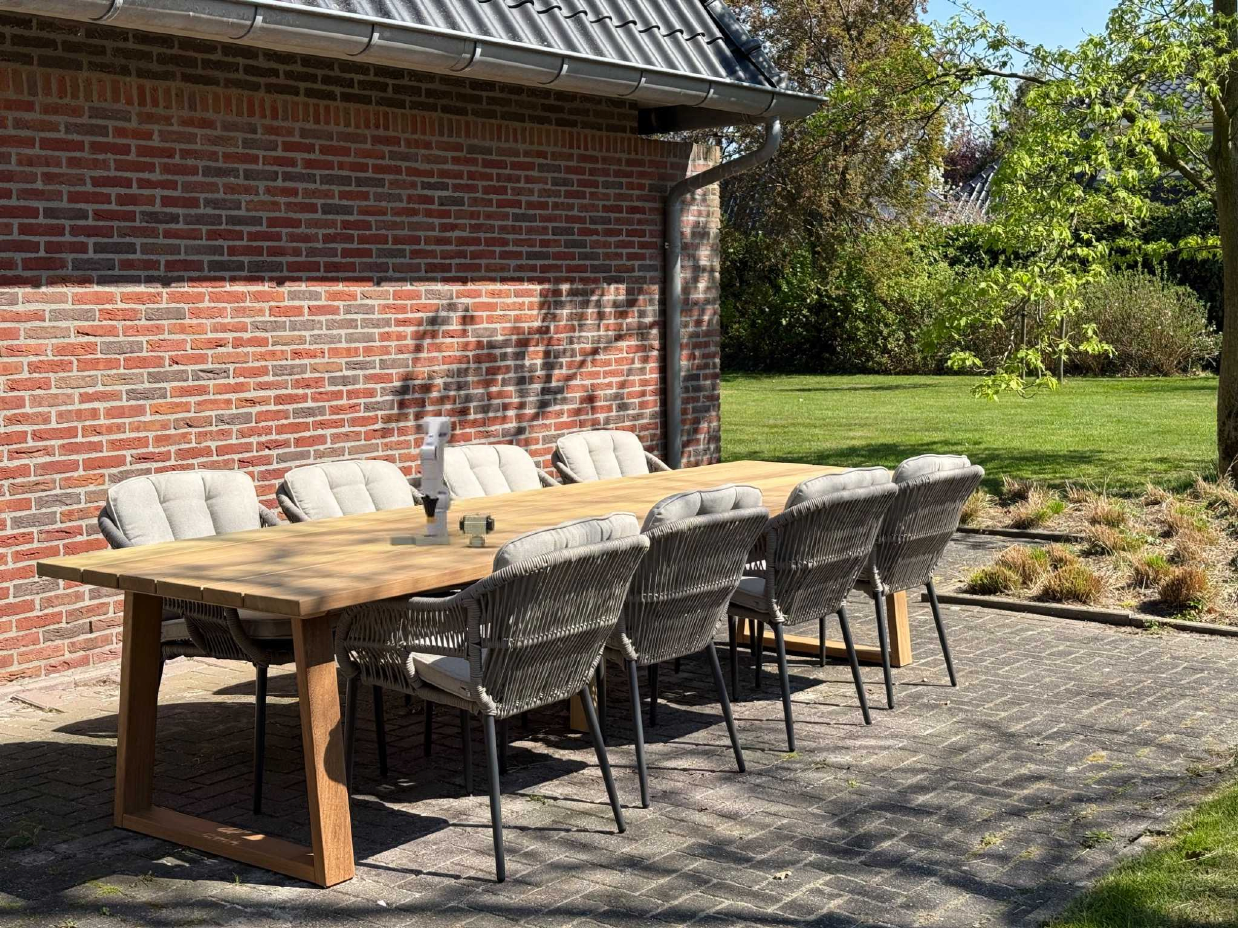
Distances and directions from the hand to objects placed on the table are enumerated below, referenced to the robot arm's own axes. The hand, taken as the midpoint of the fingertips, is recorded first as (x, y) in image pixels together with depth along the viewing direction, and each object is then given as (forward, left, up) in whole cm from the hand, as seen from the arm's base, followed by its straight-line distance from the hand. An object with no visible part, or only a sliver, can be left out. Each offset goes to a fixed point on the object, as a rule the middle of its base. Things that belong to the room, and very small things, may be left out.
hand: (429, 516), depth 532 cm
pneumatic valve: (+15, +14, -10) cm, 23 cm away
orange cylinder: (0, 0, -2) cm, 2 cm away
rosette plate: (0, -4, -9) cm, 10 cm away
